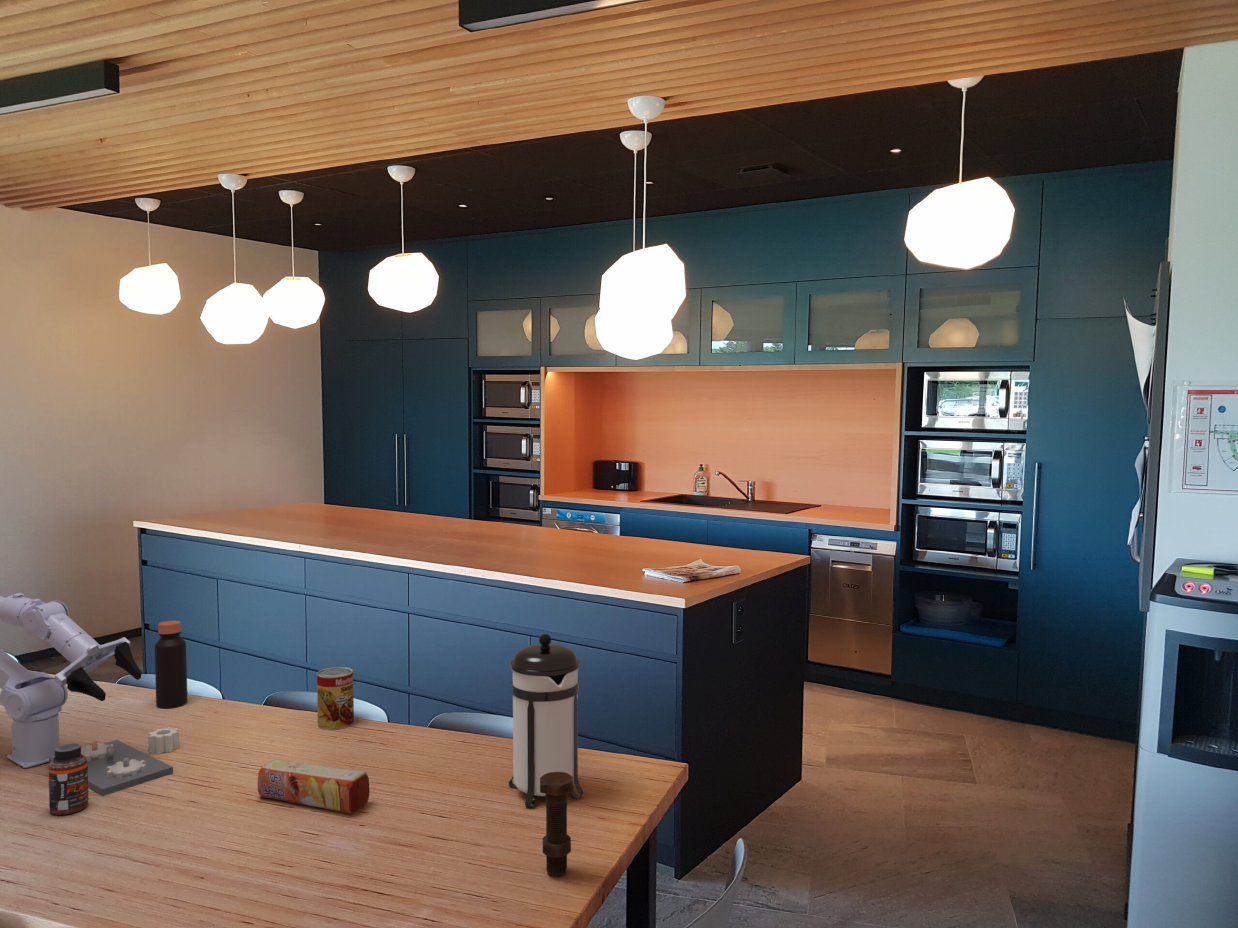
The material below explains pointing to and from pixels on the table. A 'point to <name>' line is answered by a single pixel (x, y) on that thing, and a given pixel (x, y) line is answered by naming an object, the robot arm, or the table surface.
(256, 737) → the table surface
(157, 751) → the idler gear
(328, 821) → the table surface
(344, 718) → the canned food
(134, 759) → the gear board
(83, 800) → the supplement bottle
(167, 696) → the vinegar
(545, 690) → the coffee press
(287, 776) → the snack package
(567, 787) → the bolt
